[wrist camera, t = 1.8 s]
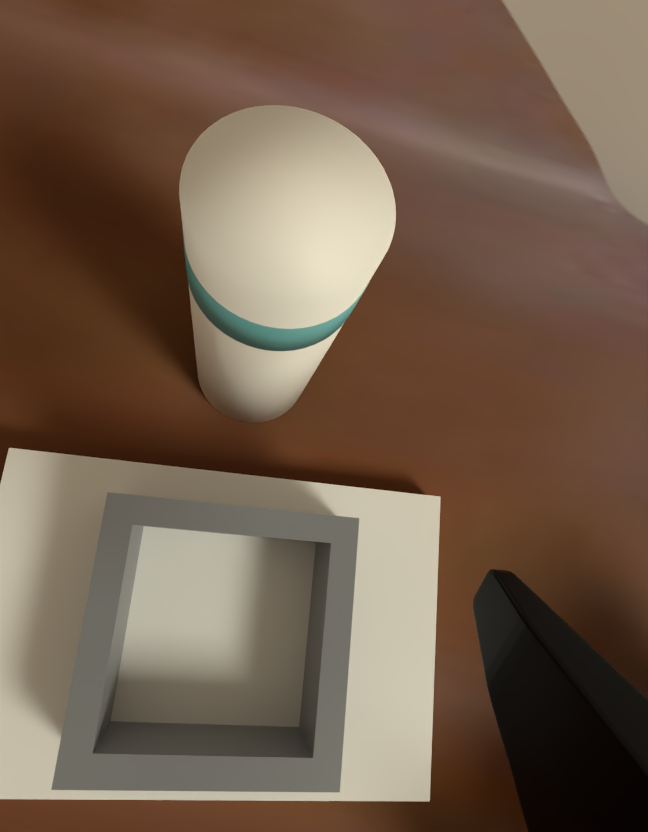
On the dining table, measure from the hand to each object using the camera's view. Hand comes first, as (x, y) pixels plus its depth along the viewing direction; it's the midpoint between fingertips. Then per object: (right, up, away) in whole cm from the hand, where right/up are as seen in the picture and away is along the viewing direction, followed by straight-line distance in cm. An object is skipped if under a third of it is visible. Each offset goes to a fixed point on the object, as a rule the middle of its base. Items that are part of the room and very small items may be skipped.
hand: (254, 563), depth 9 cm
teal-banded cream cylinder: (-2, +5, +15) cm, 16 cm away
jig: (-3, -6, +12) cm, 14 cm away
